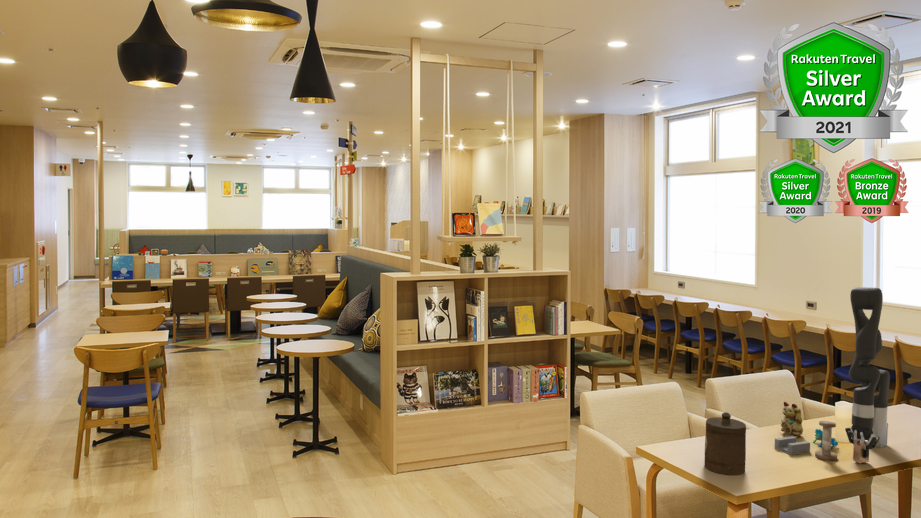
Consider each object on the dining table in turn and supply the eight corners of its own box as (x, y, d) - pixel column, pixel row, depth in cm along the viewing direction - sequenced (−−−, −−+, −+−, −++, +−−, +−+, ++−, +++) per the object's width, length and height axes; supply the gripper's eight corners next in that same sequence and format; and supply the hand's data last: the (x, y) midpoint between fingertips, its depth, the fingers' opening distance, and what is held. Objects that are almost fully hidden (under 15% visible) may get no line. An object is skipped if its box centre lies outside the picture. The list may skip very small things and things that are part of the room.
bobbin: (824, 453, 272) (826, 419, 272) (841, 459, 265) (843, 424, 264) (810, 455, 270) (811, 420, 269) (827, 461, 262) (828, 426, 261)
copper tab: (861, 459, 264) (862, 442, 264) (868, 461, 261) (869, 444, 261) (852, 460, 262) (853, 443, 262) (859, 463, 259) (860, 446, 259)
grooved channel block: (792, 445, 282) (792, 436, 282) (809, 452, 274) (810, 442, 273) (774, 447, 279) (774, 438, 278) (791, 454, 270) (792, 445, 270)
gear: (843, 446, 277) (827, 429, 276) (835, 456, 276) (819, 440, 276) (826, 441, 288) (810, 425, 287) (818, 451, 287) (802, 435, 287)
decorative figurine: (777, 433, 298) (778, 401, 297) (787, 430, 303) (788, 398, 302) (797, 439, 290) (798, 406, 289) (807, 436, 295) (809, 403, 294)
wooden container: (719, 458, 264) (721, 405, 263) (753, 470, 252) (755, 414, 251) (696, 465, 256) (697, 411, 255) (729, 478, 244) (731, 420, 243)
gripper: (886, 418, 255) (884, 461, 256) (853, 408, 268) (852, 449, 270) (872, 420, 253) (870, 463, 254) (840, 410, 266) (838, 451, 267)
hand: (861, 456), depth 262 cm, fingers closed on copper tab, 2 cm apart
